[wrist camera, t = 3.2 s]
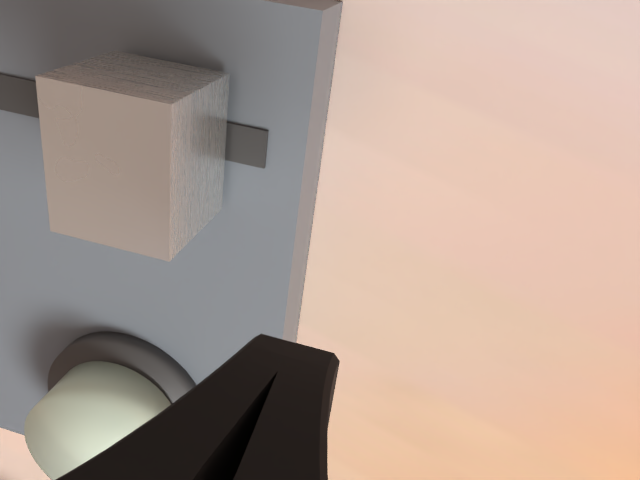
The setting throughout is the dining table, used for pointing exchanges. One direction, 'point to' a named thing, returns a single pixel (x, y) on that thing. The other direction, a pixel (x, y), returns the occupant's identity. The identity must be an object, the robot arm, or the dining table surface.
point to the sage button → (89, 414)
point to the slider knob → (133, 150)
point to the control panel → (209, 243)
